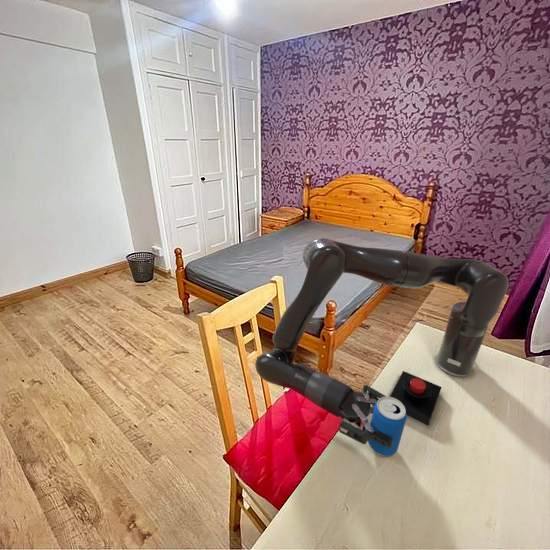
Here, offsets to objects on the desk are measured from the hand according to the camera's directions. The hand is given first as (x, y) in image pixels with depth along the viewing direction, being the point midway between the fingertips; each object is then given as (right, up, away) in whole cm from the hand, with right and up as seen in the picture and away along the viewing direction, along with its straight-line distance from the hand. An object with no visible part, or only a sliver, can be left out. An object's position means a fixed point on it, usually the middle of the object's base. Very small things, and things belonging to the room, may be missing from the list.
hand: (397, 430), depth 65 cm
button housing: (+11, 0, +16) cm, 20 cm away
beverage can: (-2, -5, +4) cm, 7 cm away
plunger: (+11, +4, +14) cm, 18 cm away
